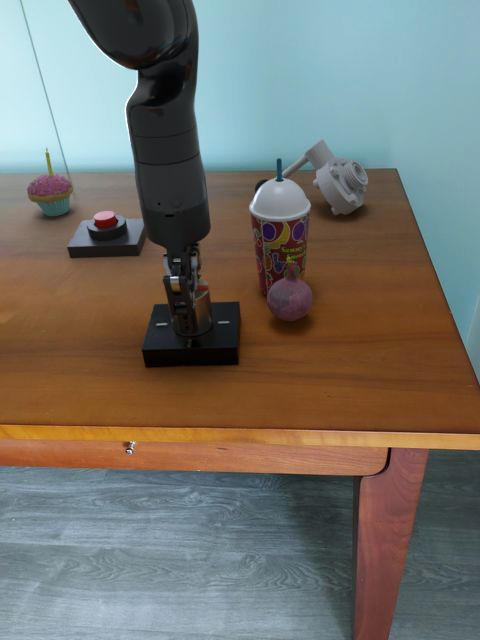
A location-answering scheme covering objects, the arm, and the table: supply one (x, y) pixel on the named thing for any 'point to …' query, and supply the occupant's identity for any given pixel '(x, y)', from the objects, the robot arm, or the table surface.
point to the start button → (105, 219)
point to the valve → (332, 178)
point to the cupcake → (51, 192)
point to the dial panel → (193, 339)
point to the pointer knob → (198, 310)
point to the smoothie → (279, 229)
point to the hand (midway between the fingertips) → (192, 317)
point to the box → (108, 239)
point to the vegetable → (290, 296)
